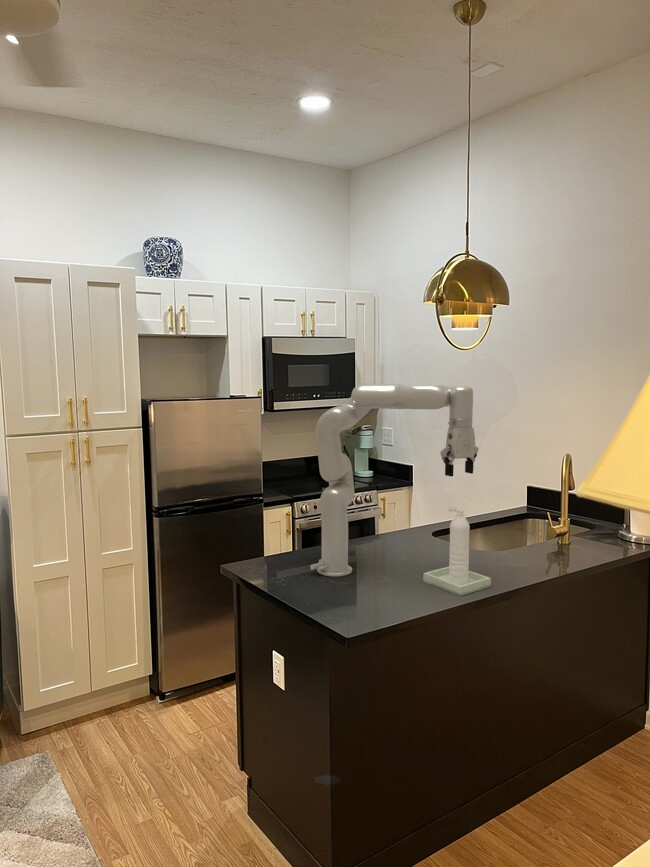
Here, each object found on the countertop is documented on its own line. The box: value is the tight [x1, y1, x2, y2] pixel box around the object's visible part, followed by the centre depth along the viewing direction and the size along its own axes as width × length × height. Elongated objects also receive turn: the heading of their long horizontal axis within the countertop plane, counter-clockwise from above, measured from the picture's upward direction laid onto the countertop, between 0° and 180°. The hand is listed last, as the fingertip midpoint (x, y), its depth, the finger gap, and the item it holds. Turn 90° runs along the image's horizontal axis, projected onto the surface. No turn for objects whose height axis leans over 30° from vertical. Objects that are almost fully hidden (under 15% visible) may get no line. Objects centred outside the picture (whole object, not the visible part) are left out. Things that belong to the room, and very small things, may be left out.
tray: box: [422, 566, 492, 597], centre depth 222 cm, size 15×17×3 cm
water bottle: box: [448, 507, 471, 585], centre depth 221 cm, size 9×6×25 cm
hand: (459, 474), depth 218 cm, fingers open, 9 cm apart
